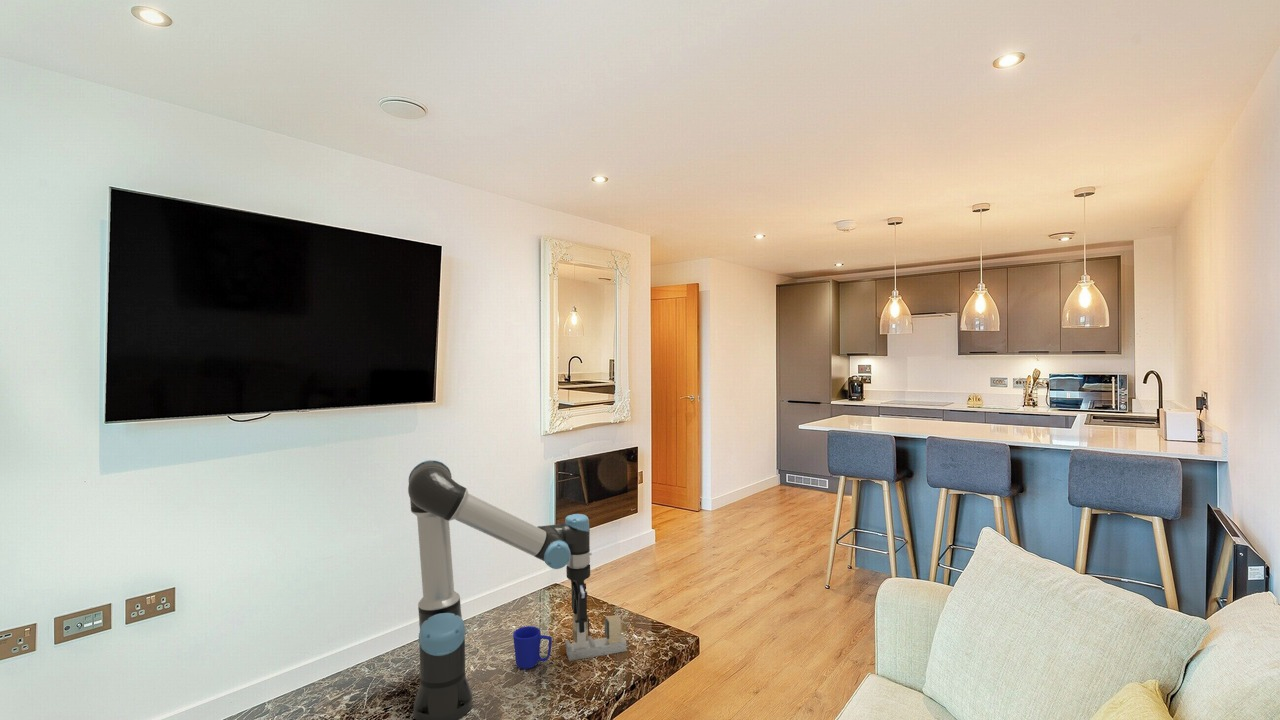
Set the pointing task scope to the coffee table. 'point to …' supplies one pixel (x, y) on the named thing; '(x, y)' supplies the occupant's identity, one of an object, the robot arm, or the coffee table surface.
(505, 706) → the coffee table surface
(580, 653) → the rail
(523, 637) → the mug
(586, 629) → the tan cardboard carton
